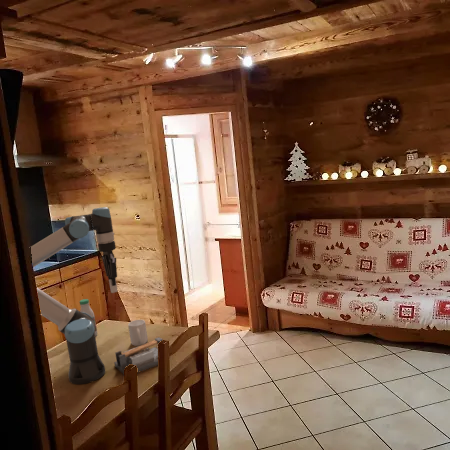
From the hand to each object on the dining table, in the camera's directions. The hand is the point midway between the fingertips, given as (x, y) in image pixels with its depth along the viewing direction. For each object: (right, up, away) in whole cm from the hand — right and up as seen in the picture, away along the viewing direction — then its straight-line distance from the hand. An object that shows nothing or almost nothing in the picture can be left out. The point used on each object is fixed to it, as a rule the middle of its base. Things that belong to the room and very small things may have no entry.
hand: (114, 291), depth 205 cm
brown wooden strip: (+13, -24, -9) cm, 29 cm away
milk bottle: (-21, -29, +32) cm, 48 cm away
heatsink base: (+14, -31, -7) cm, 34 cm away
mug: (+9, -28, +14) cm, 33 cm away
